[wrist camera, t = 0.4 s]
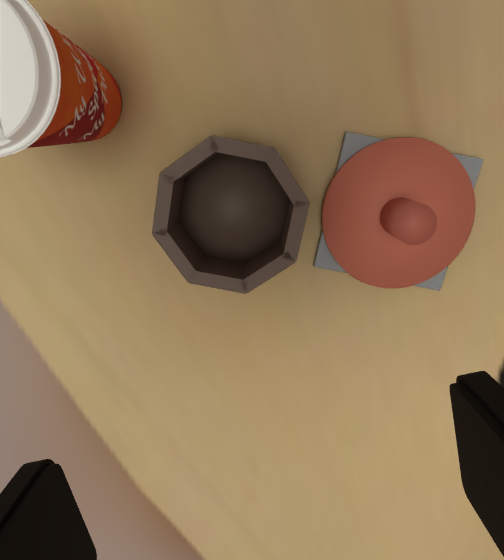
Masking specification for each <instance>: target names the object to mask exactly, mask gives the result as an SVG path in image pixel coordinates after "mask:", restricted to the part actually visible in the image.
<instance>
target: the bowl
mask: <svg viewBox="0 0 504 560" xmlns="http://www.w3.org/2000/svg"><path fill="white" fill-rule="evenodd" d="M308 207H309V200H308V199H307V197H306V196H305V194H304V193H303V191H302V189H301V188H300V186H299V185H298V183H297V182H296V180H295V178H294V177H293V175H292V174H291V172H290V170H289V169H288V167H287V166H286V164H285V163H284V161H283V159H282V158H281V156H280V155H279V153H278V152H277V150H276V149H274V148H273V147H268V146H263V145H258V144H253V143H248V142H243V141H238V140H233V139H228V138H223V137H218V136H214V135H212V136H210V137H208V138H207V139H205V140H204V141H203V142H201V143H200V144H199V145H197V146H196V147H194V148H193V149H192V150H190V151H189V152H188V153H186V154H185V155H183V156H182V157H181V158H179V159H178V160H177V161H175V162H174V163H172V164H171V165H170V166H168V167H167V168H166V169H164V170H163V171H161V173H160V175H159V183H158V190H157V198H156V206H155V214H154V222H153V230H152V234H153V236H154V238H155V239H156V240H157V242H158V243H159V244H160V246H161V247H162V248H163V250H164V251H165V252H166V254H167V255H168V256H169V258H170V259H171V261H172V262H173V263H174V265H175V266H176V267H177V269H178V270H179V271H180V273H181V274H182V275H183V277H184V278H185V279H186V281H187V282H189V283H191V284H197V285H202V286H207V287H213V288H218V289H223V290H229V291H234V292H239V293H245V294H246V293H248V292H250V291H251V290H253V289H255V288H256V287H258V286H259V285H261V284H262V283H264V282H265V281H267V280H269V279H270V278H272V277H273V276H275V275H276V274H278V273H279V272H281V271H283V270H284V269H286V268H287V267H289V266H290V265H292V264H294V263H295V261H296V260H297V256H298V251H299V247H300V243H301V238H302V234H303V229H304V225H305V221H306V216H307V212H308Z"/></svg>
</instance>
